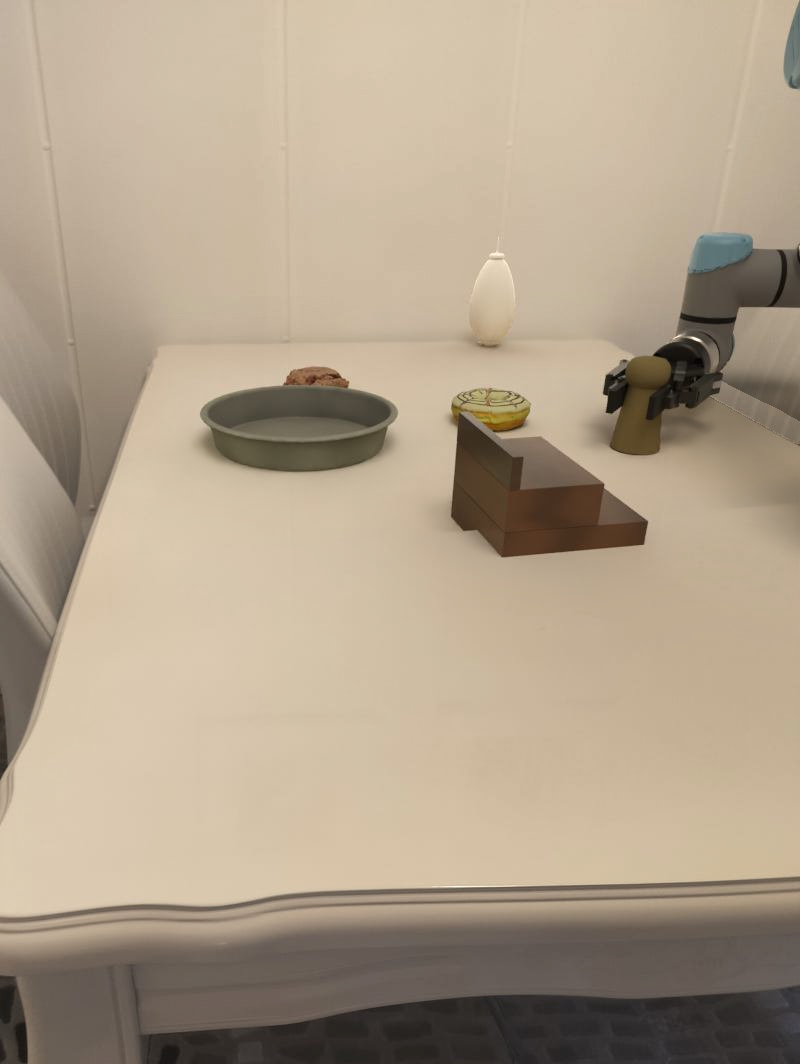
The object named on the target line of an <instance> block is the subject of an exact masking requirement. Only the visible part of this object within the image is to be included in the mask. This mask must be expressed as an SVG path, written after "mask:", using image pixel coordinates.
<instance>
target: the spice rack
mask: <svg viewBox="0 0 800 1064" xmlns="http://www.w3.org/2000/svg"><path fill="white" fill-rule="evenodd" d="M456 431H457V432H456V433H457V434H456V445H455V459H454V472H453V483H452V484H453V485H452V495H451V496H452V497H451V508H450V509H451V510H450V517H451V518H452V520H453V521H454V522H455V523H456V524H457V525H458V527H460V529H461V530H462V531H463V532H470V531H477V532H478V533H479V534H480V535H481V537H483V538H484V540H485V541H486V542H488V544H489V546H491V547H492V548H493V549H494V551H495V552H496V553H497V554H498V555H499V556H500V557H501V558H512V557H513V558H515V557H524V556H534V555H547V554H558V553H568V552H569V553H570V552H580V551H590V550H592V551H593V550H603V549H613V548H624V547H625V548H627V547H635V546H644V545H645V540H646V535H647V531H648V527H649V520H648V519H646V517H645V518H644V516H642V515H641V514H639V512H637V511H636V510H634V509H633V508H631V507H630V506H629V505H628V504H626V503H625V502H624V501H622V500H621V499H619V498H618V497H617V496H615V494H613V493H611V492H610V491H609V490H608V489H606V488H605V486H606V485H605V482H604V481H602V480H601V479H599V478H598V477H596V476H595V475H594V474H592V473H591V472H590V471H588V470H587V469H585V468H584V467H583V466H581V465H580V464H579V463H578V462H576V461H575V460H573V458H571V457H570V456H569V455H567V454H565V453H564V452H562V450H560V449H558V447H556V446H554V445H553V444H552V443H551V442H549V441H548V440H546V439H545V438H544V437H543V436H526V437H513V438H512V437H511V438H502V437H500V436H499V435H498V434H497V433H495V432H494V431H492V430H490V429H489V428H488V427H487V426H485V425H484V424H483V423H482V422H481V421H479V420H478V419H477V418H476V417H474V416H473V415H472V414H471V413H470V412H459V418H458V421H457V430H456Z"/></svg>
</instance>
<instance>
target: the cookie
mask: <svg viewBox="0 0 800 1064" xmlns="http://www.w3.org/2000/svg"><path fill="white" fill-rule="evenodd" d="M282 385H320V386H334V387H343V388H349V385H350V380H347V379H346V378H345V377H342V375H341V374H340V373H339V372H338V370H335V369H333V368H331V367H328V366H315V365H313V366H306V367H303V368H297V369H296V368H294V369H292V370H290V372H289V375H287V376H286V379H285V382H283V384H282Z"/></svg>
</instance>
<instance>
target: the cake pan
mask: <svg viewBox="0 0 800 1064" xmlns="http://www.w3.org/2000/svg"><path fill="white" fill-rule="evenodd" d="M398 414H399V411H398V408H397V406H396V404H394V403H393V402H392V401H390V400H389V399H387V398H385V397H383V396H380V395H378V394H375V393H371V392H369V391H365V390H361V389H355V388H349V387H348V388H343V387H334V386H320V385H283V384H282V385H271V386H262V387H261V386H260V387H253V388H246V389H242V390H237V391H233V392H230V393H226V394H223V395H221V396H218V397H215V398H213V399H212V400H210V401H208V402H207V403H205V404H204V405H203V406H202V407H201V409H200V412H199V416H200V417H199V418H200V419H201V420H202V422H203V423H204V424H205V425H206V426H208V427H209V428H210V432H211V434H212V435H211V436H212V438H213V441H214V444H215V448H216V450H217V451H218V452H219V453H220V454H221V455H222V456H224V457H225V458H227V459H229V460H231V461H233V462H236V463H239V464H243V465H246V466H249V467H256V468H261V469H268V470H277V471H278V470H279V471H320V470H321V471H322V470H331V469H337V468H342V467H348V466H351V465H355V464H358V463H361V462H364V461H366V460H368V459H371V458H373V457H374V456H376V455H377V454H378V453H380V451H381V450H382V448H383V446H384V444H385V438H386V435H387V431H388V428H389V426H390V425H392V424H393V423H394V422H395V421H396V419H397V418H398Z"/></svg>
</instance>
